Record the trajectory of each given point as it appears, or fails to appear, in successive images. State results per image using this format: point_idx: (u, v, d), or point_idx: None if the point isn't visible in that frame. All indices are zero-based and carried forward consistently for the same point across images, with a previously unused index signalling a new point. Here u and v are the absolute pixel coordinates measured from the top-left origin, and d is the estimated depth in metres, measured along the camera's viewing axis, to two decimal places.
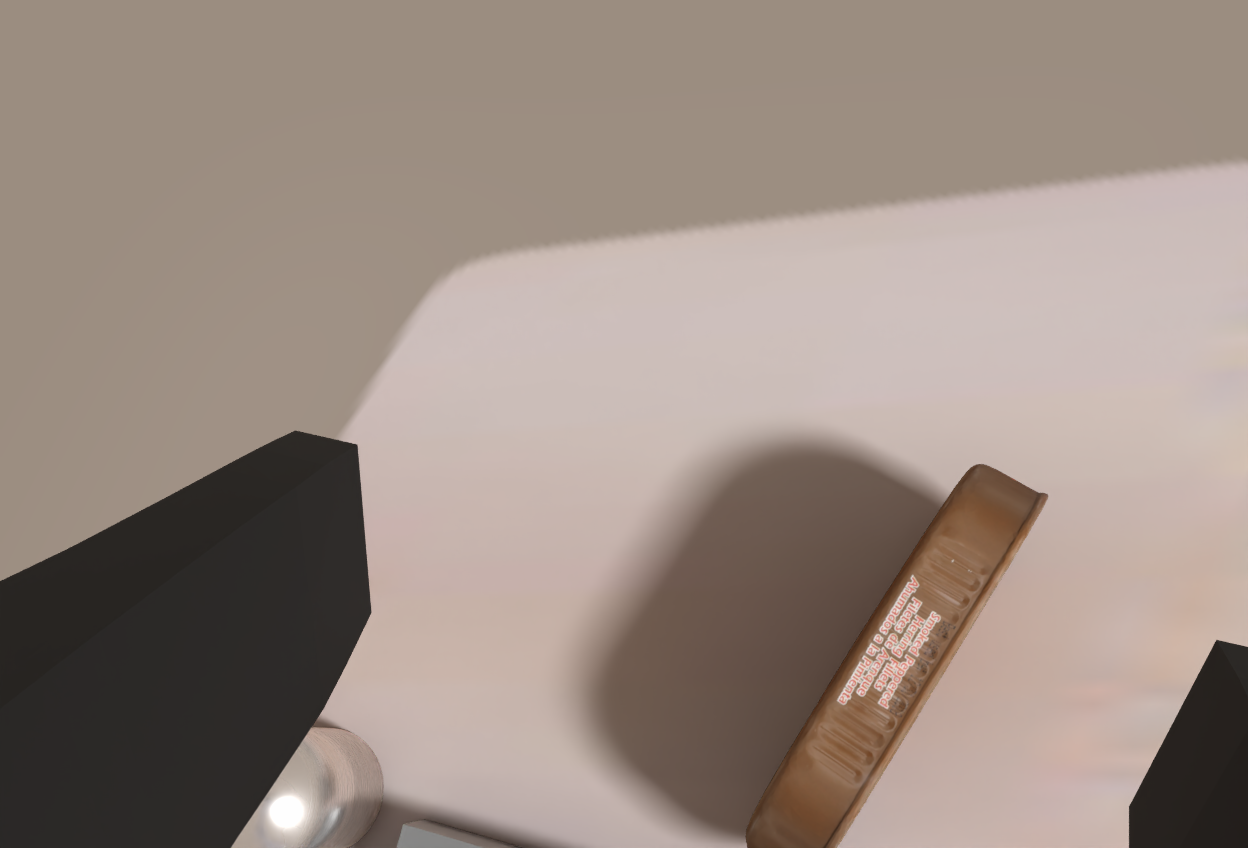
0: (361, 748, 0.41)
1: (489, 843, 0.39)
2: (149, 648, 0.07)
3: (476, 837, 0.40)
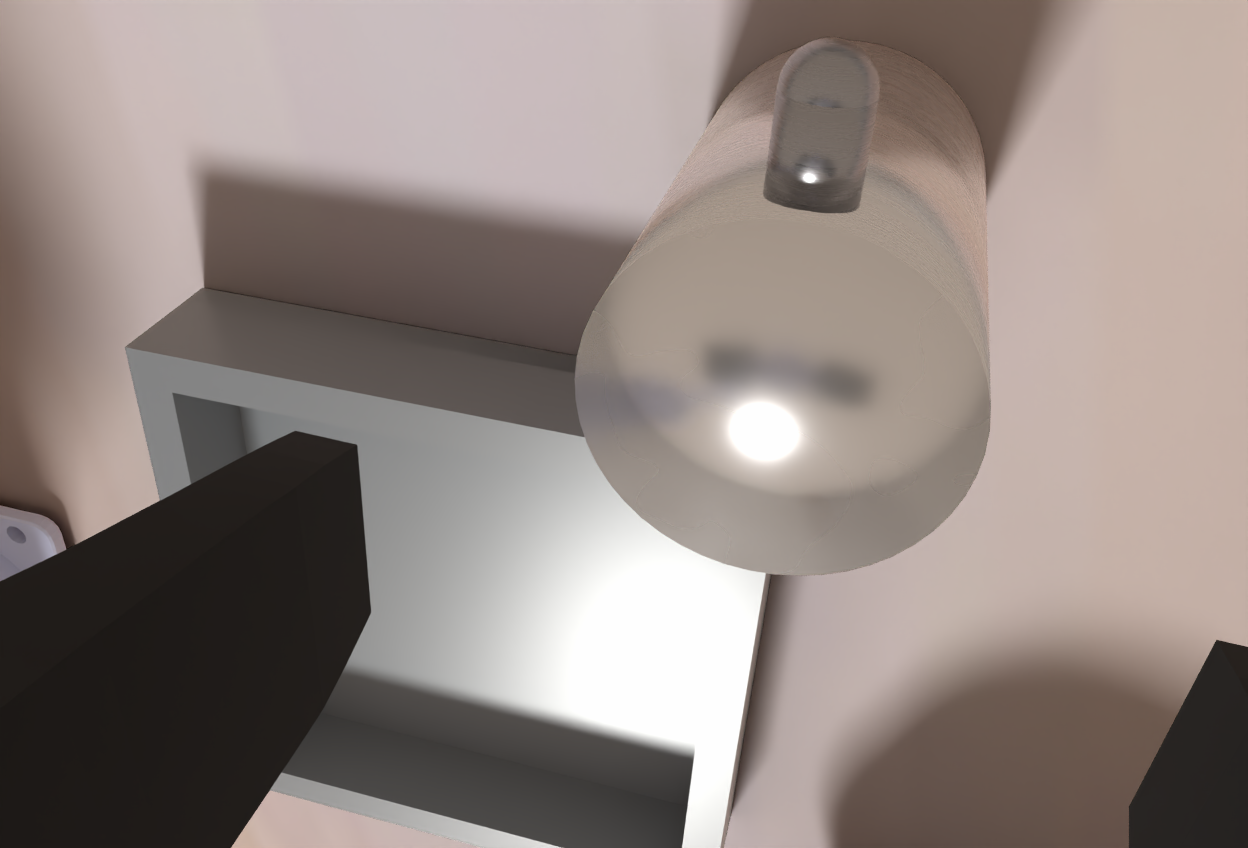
0: None
1: None
2: (152, 647, 0.07)
3: None
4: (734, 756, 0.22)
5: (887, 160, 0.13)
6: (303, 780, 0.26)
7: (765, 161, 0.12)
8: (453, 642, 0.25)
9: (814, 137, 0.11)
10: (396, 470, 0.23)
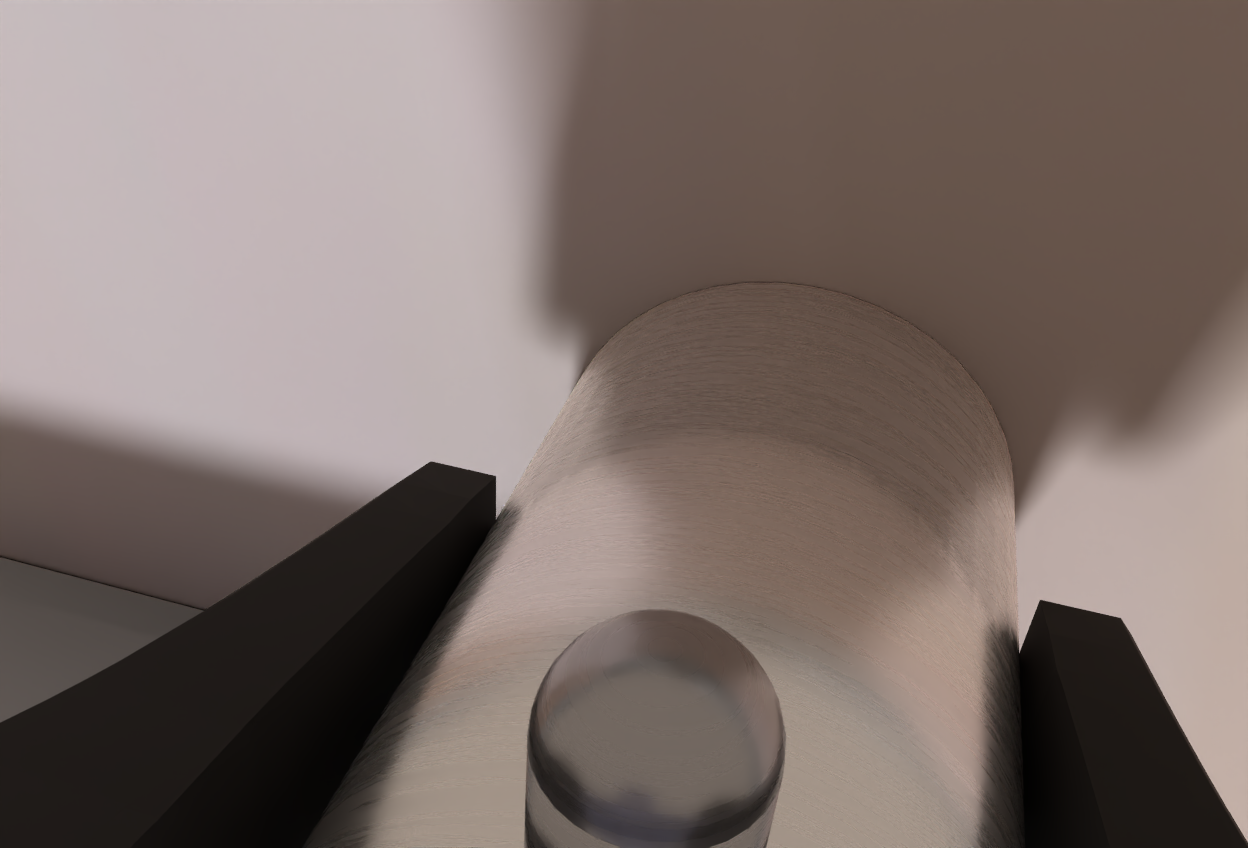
0: None
1: None
2: (325, 694, 0.07)
3: None
4: None
5: (831, 693, 0.06)
6: None
7: None
8: None
9: None
10: None
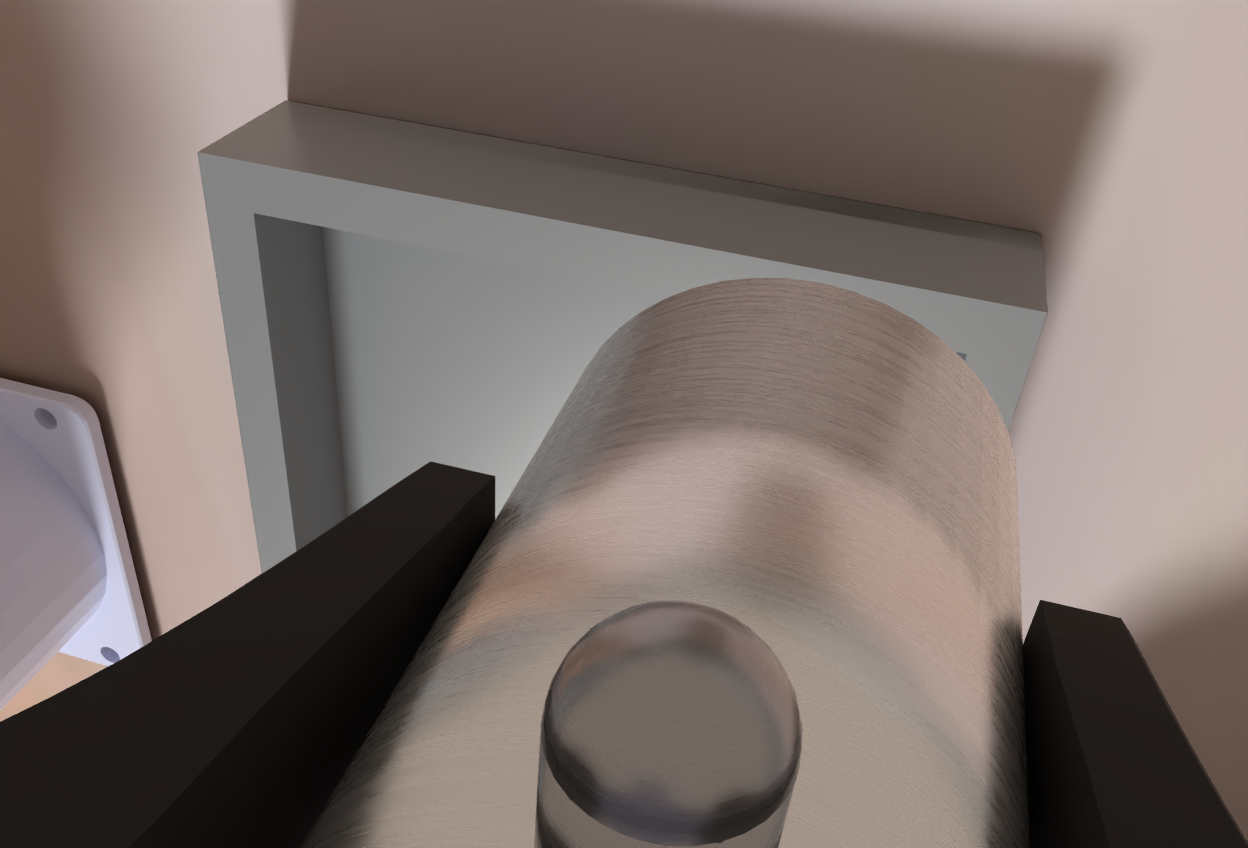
0: None
1: None
2: (324, 694, 0.07)
3: None
4: None
5: (837, 688, 0.06)
6: None
7: None
8: None
9: None
10: (514, 332, 0.19)
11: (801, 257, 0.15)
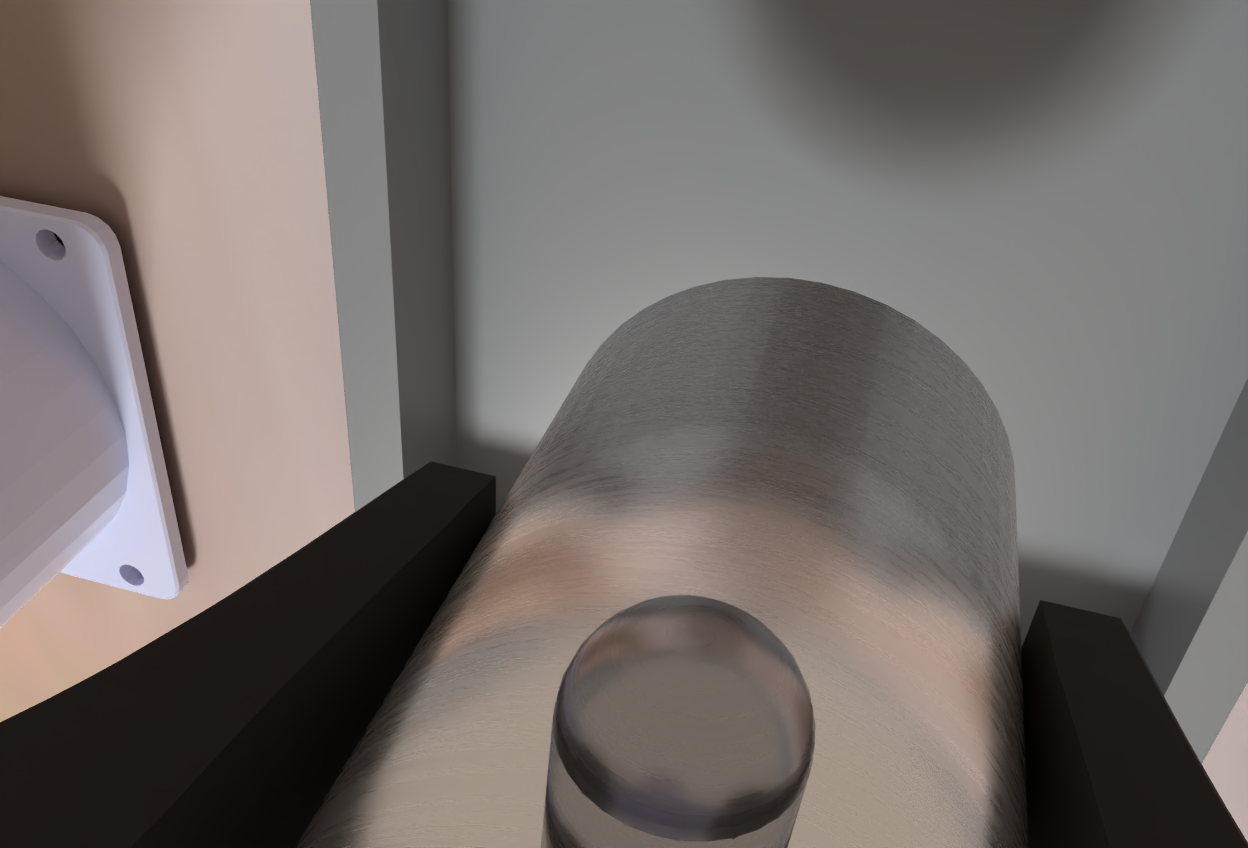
0: None
1: None
2: (326, 695, 0.07)
3: None
4: None
5: (843, 685, 0.06)
6: None
7: None
8: None
9: None
10: (717, 57, 0.13)
11: None
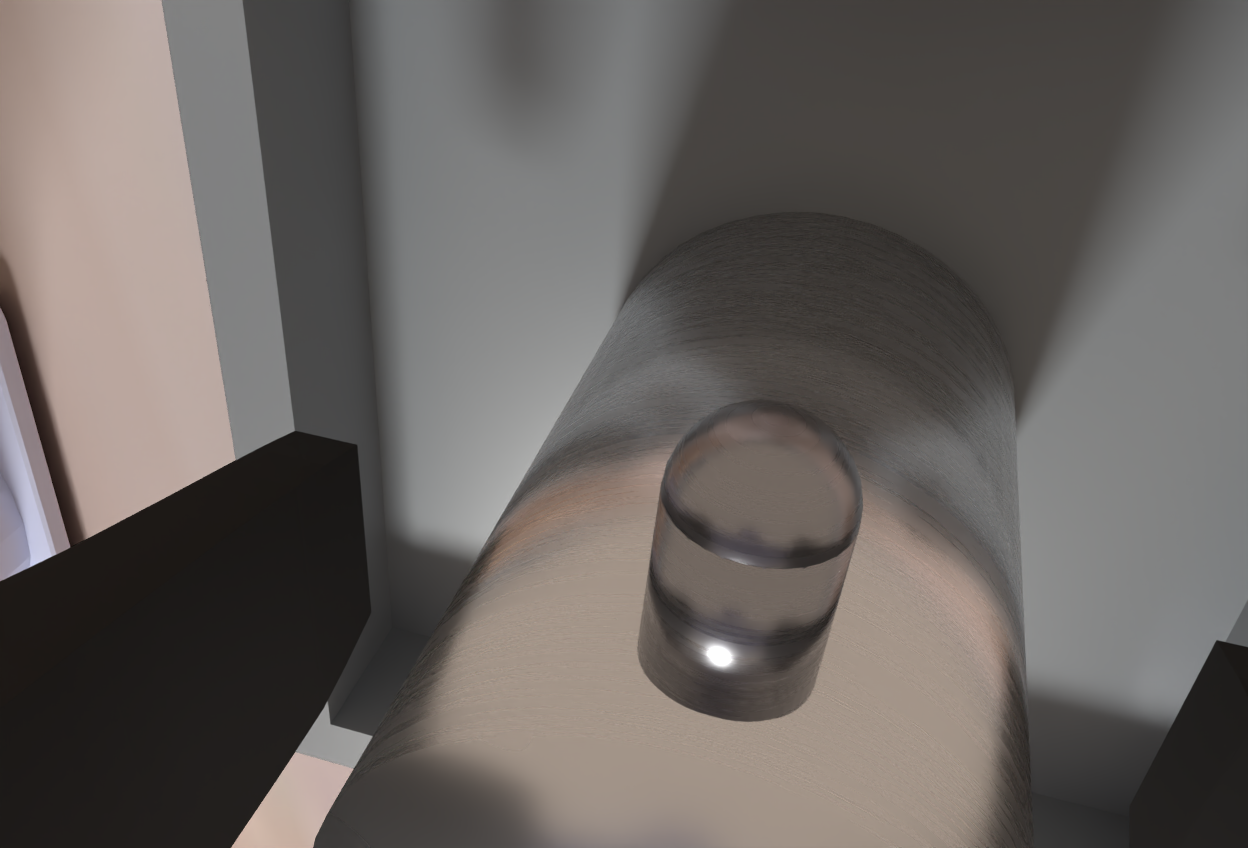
0: None
1: None
2: (149, 648, 0.07)
3: None
4: None
5: (873, 520, 0.07)
6: None
7: None
8: None
9: (727, 609, 0.05)
10: (669, 127, 0.11)
11: None
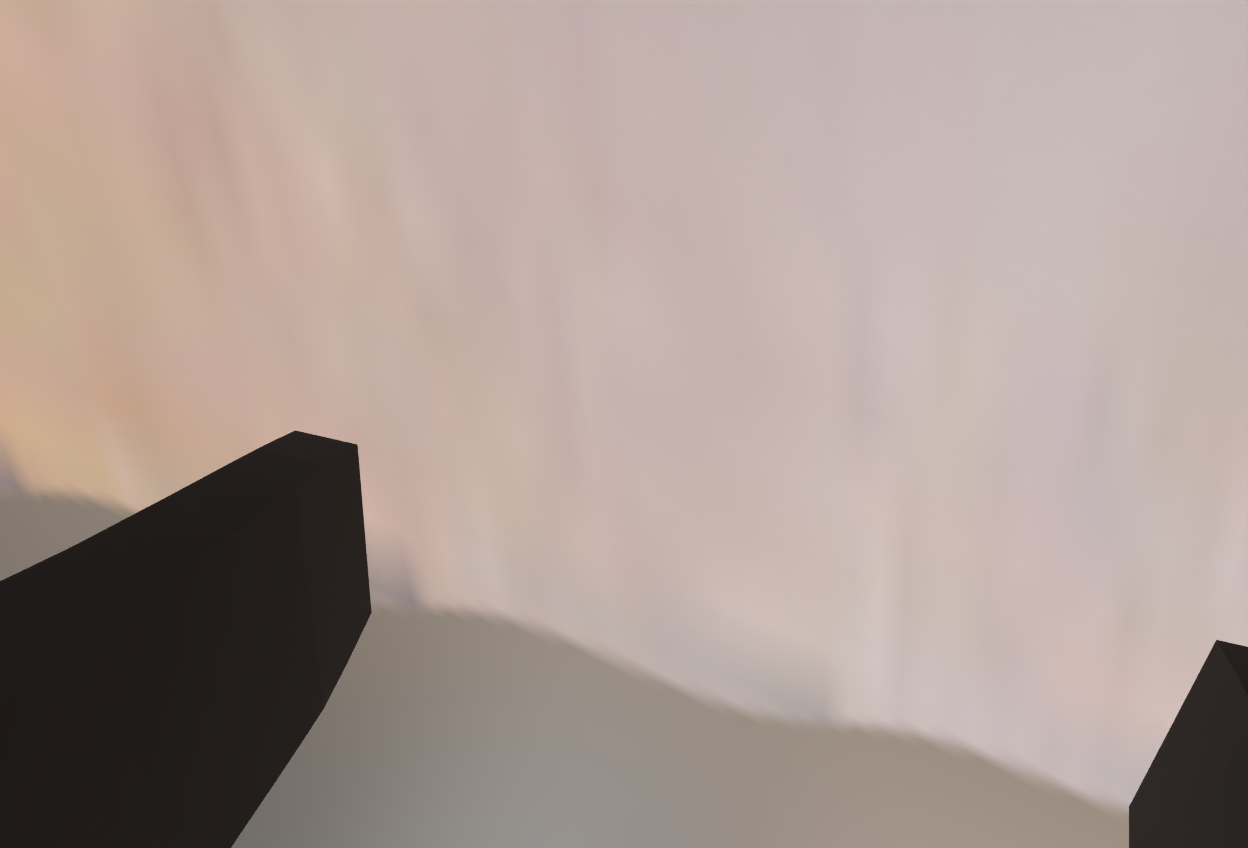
0: None
1: None
2: (151, 648, 0.07)
3: None
4: None
5: None
6: None
7: None
8: None
9: None
10: None
11: None
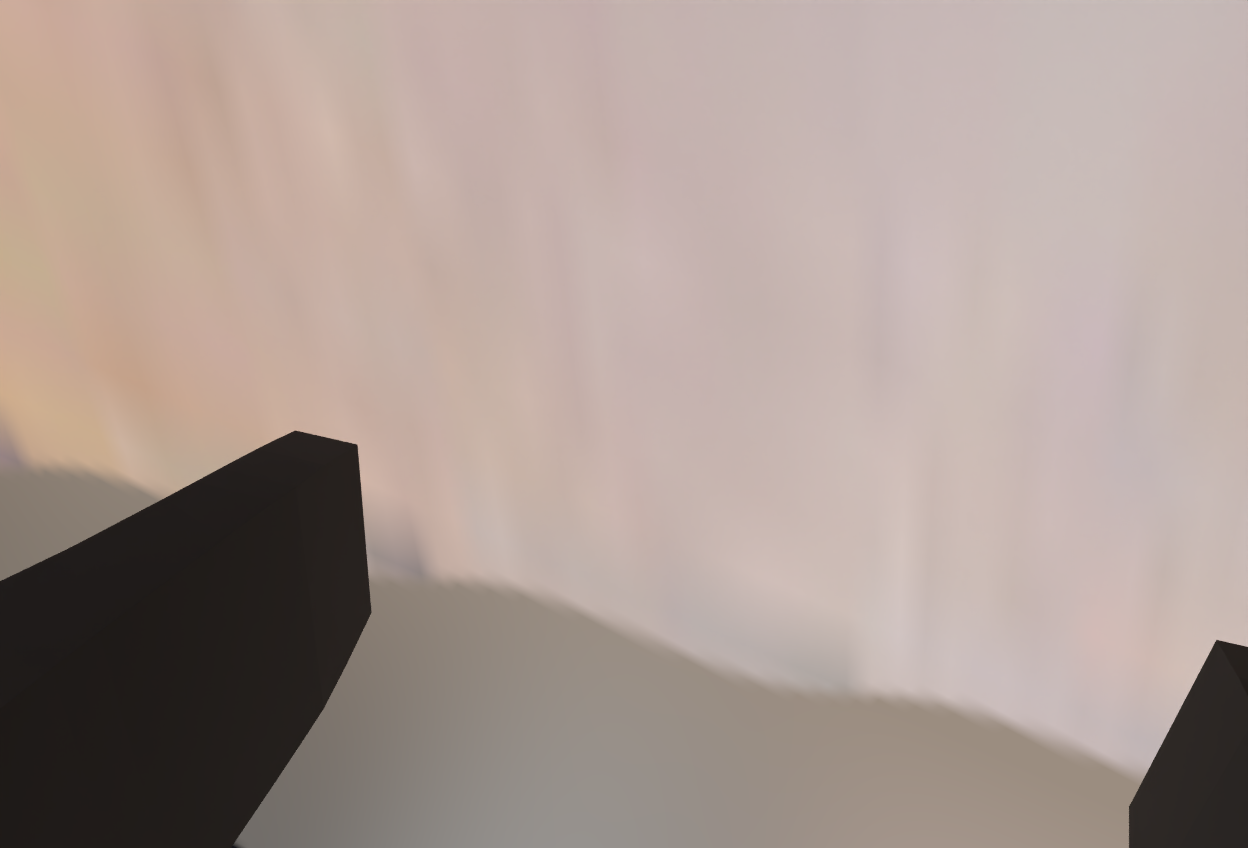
0: None
1: None
2: (149, 648, 0.07)
3: None
4: None
5: None
6: None
7: None
8: None
9: None
10: None
11: None
